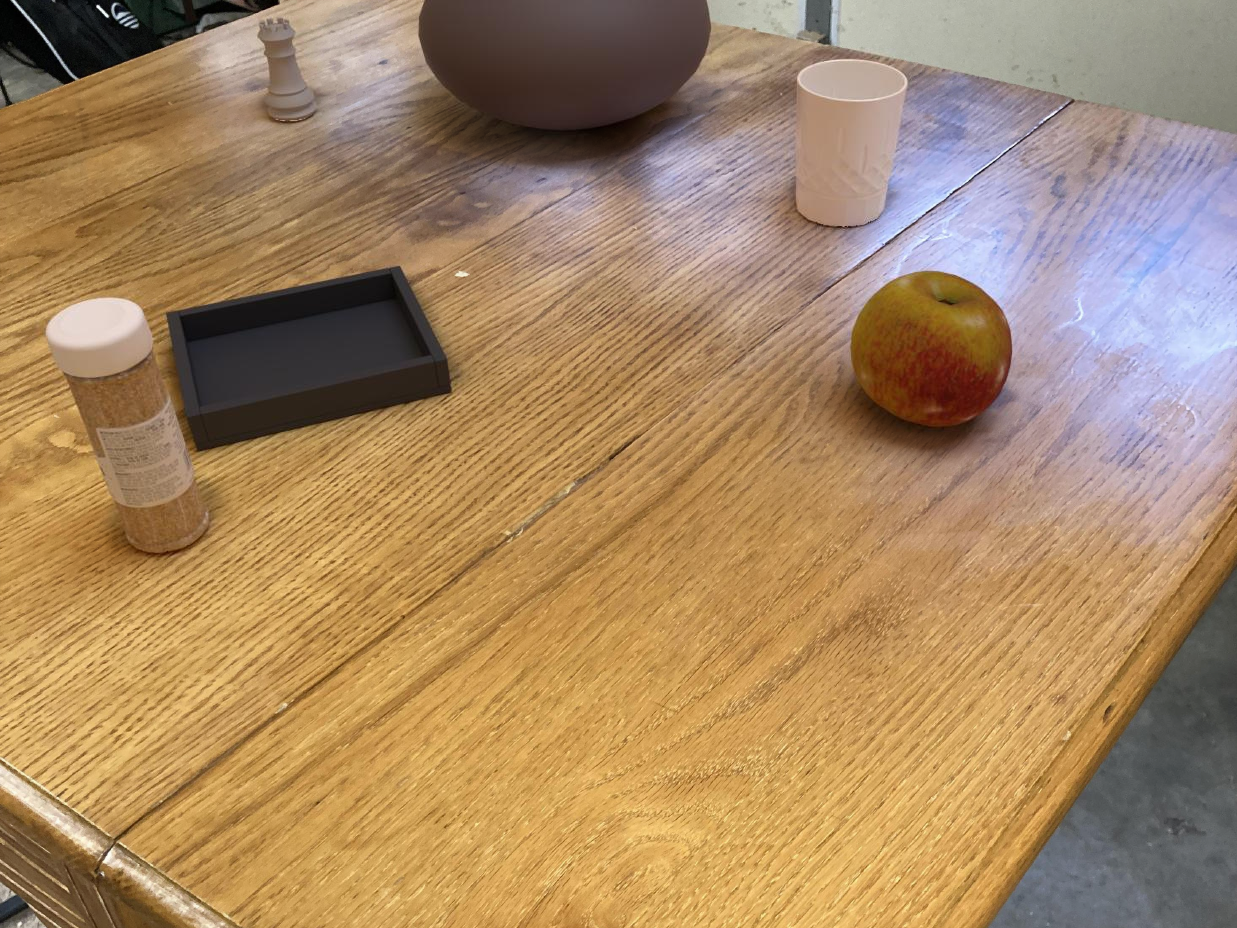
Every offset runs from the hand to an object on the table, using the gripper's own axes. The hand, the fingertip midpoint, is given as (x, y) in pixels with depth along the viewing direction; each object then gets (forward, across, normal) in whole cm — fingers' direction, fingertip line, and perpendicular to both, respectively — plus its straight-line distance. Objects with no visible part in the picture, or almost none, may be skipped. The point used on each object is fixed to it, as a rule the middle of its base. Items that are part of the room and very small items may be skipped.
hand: (272, 5), depth 103 cm
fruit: (+10, +28, -61) cm, 68 cm away
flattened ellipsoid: (+10, +23, -10) cm, 27 cm away
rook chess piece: (+10, 0, 0) cm, 10 cm away
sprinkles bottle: (+10, -16, -55) cm, 58 cm away
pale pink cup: (+10, +36, -36) cm, 52 cm away
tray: (+9, -6, -42) cm, 43 cm away
